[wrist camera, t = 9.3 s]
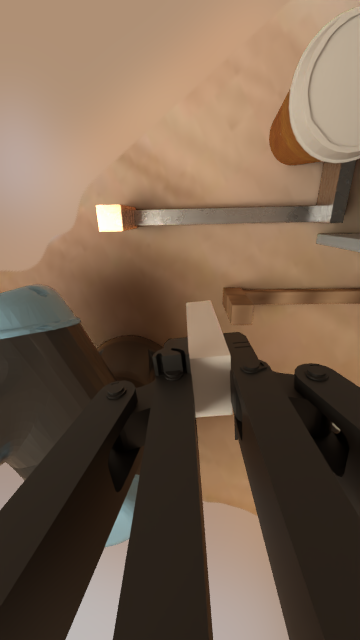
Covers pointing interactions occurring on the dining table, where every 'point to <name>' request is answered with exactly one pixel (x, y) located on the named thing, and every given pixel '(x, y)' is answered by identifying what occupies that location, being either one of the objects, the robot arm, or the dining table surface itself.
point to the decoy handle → (280, 300)
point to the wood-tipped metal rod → (326, 210)
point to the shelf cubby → (340, 241)
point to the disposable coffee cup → (323, 99)
